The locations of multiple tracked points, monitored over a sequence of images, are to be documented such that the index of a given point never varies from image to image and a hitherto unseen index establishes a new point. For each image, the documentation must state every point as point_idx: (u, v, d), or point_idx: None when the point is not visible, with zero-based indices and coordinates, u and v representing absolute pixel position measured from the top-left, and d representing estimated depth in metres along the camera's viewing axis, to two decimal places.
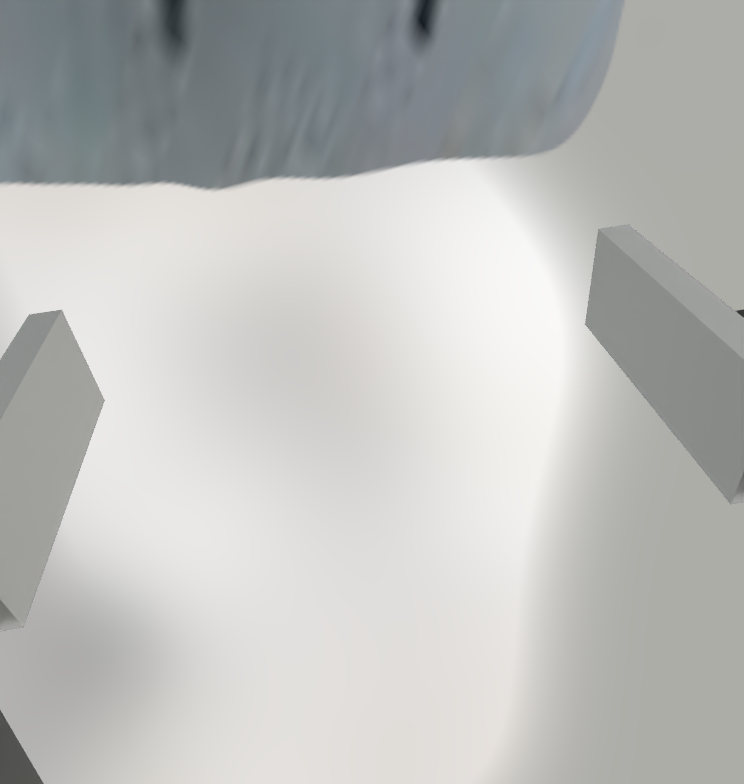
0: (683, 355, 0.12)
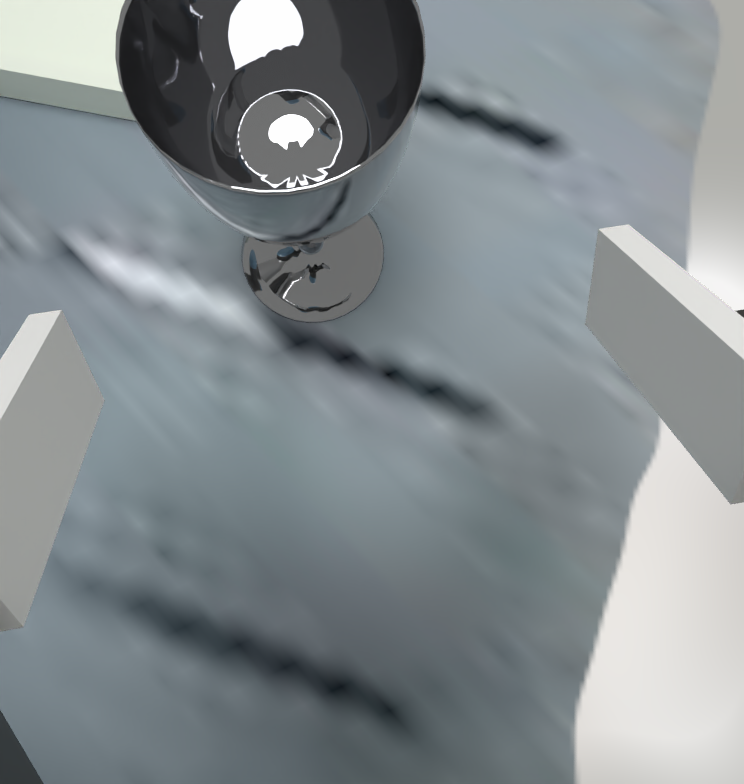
0: (683, 355, 0.12)
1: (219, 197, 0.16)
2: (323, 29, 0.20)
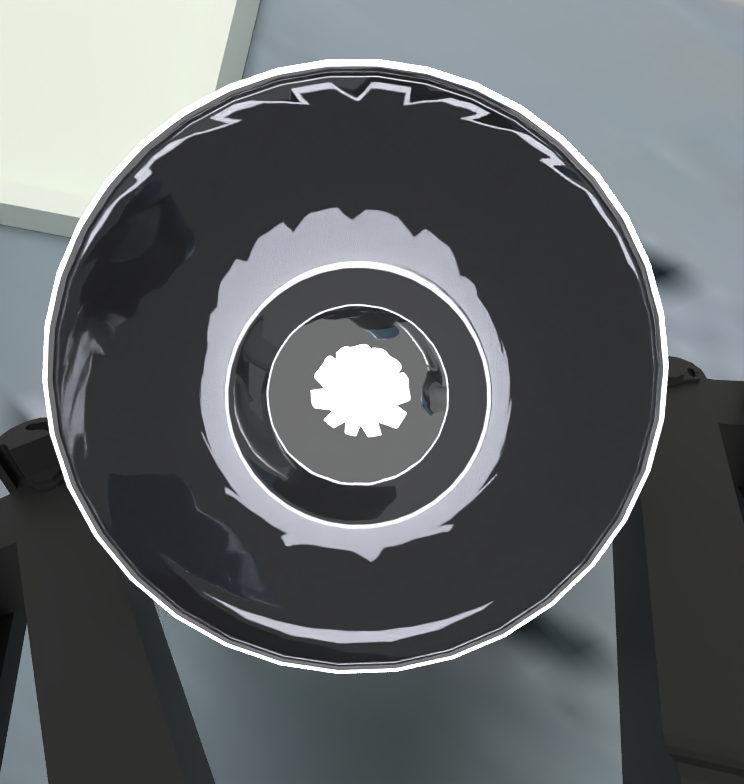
0: None
1: (250, 633, 0.08)
2: (416, 216, 0.12)
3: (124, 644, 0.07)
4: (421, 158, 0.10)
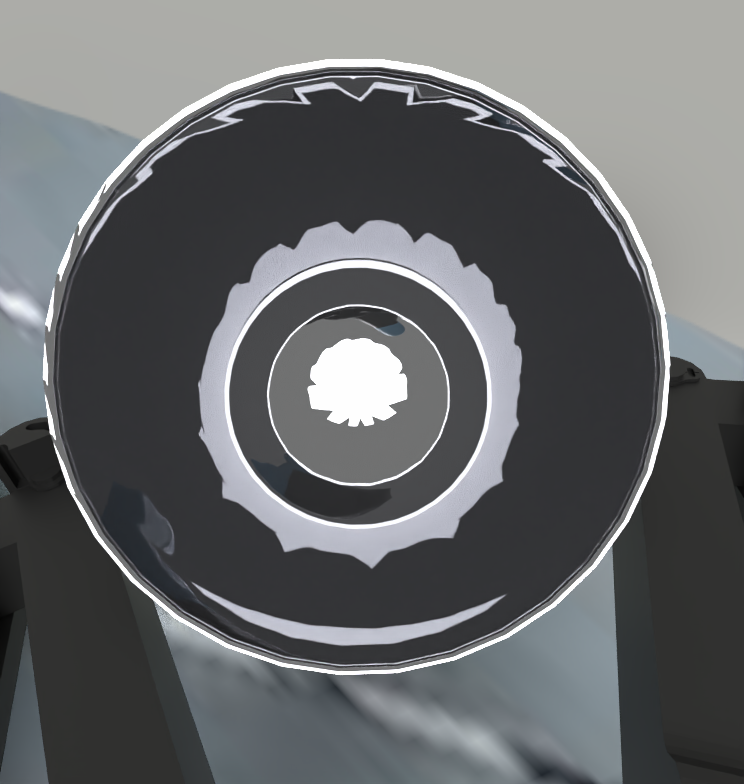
0: None
1: (251, 633, 0.08)
2: (417, 216, 0.12)
3: (125, 643, 0.07)
4: (422, 159, 0.10)
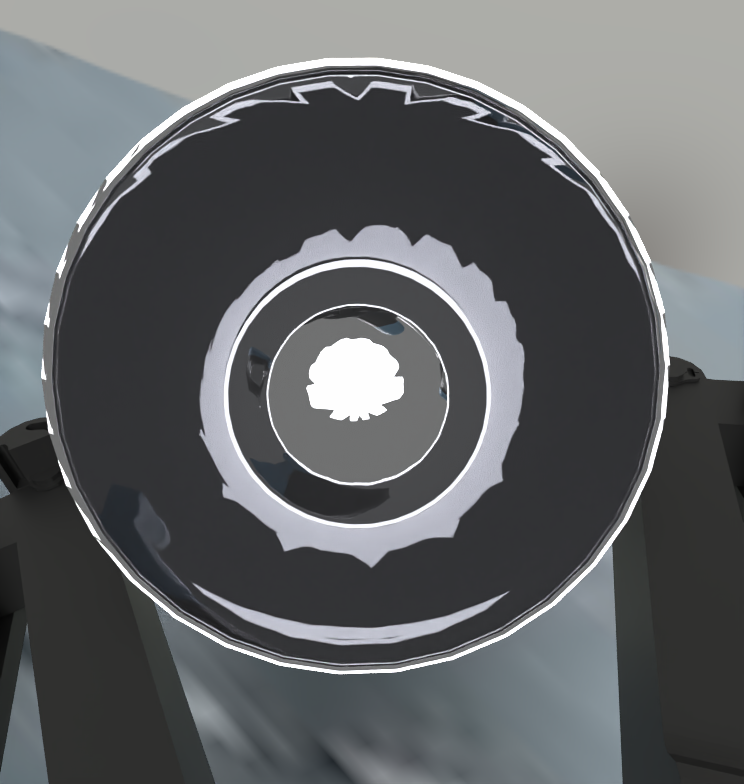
0: None
1: (250, 633, 0.08)
2: (417, 215, 0.12)
3: (124, 643, 0.07)
4: (422, 158, 0.10)
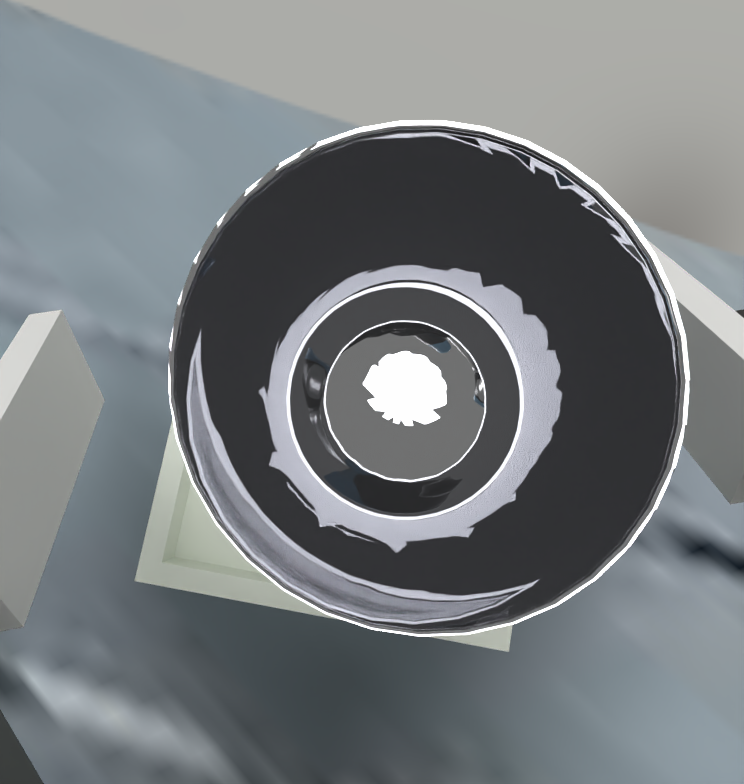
0: None
1: (338, 605, 0.09)
2: (458, 242, 0.13)
3: None
4: (468, 195, 0.12)
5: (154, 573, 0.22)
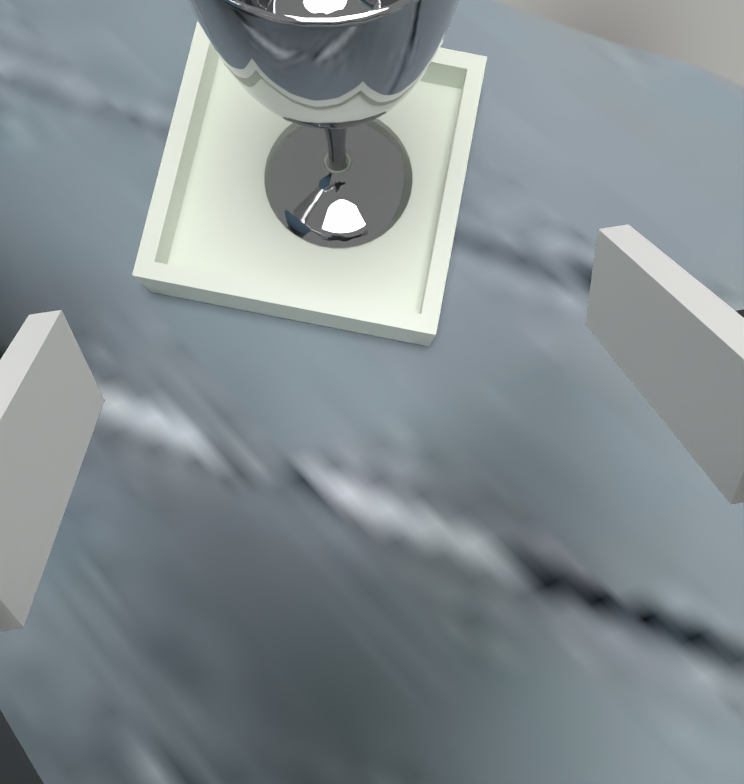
0: (683, 355, 0.12)
1: (258, 35, 0.14)
2: None
3: None
4: None
5: (148, 269, 0.27)
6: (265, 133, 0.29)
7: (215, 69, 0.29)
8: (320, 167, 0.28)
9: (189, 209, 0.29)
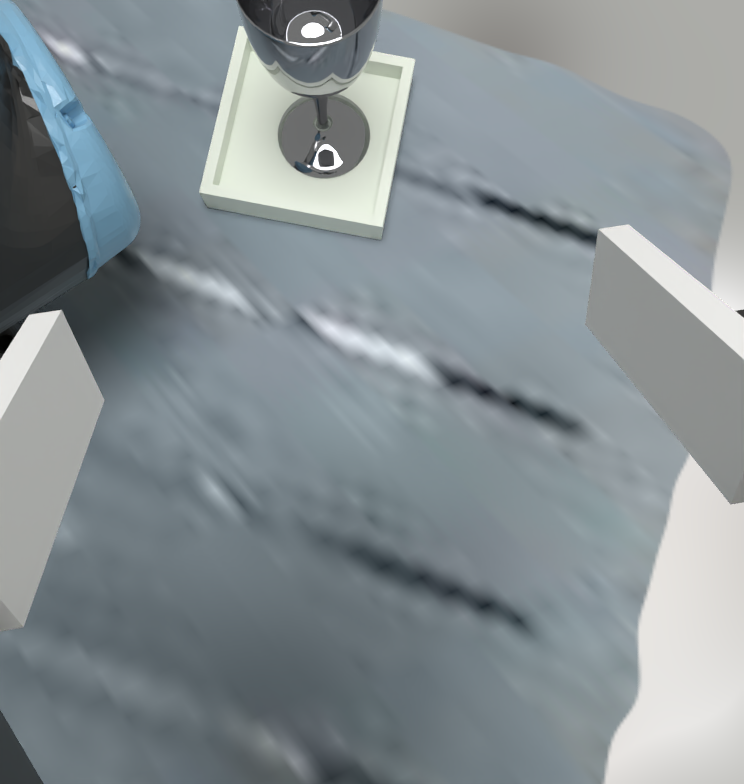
0: (683, 355, 0.12)
1: (281, 51, 0.32)
2: None
3: None
4: None
5: (208, 189, 0.44)
6: (278, 108, 0.47)
7: (246, 68, 0.47)
8: (312, 127, 0.45)
9: (231, 155, 0.46)
